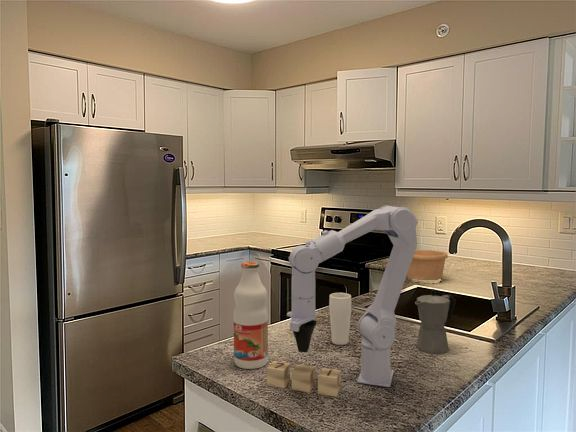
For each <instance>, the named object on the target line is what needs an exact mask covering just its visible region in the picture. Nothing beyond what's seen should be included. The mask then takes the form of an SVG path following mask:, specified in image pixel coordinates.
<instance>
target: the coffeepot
mask: <svg viewBox="0 0 576 432" xmlns="http://www.w3.org/2000/svg"><path fill="white" fill-rule="evenodd" d="M436 293H437V290H436V289H434V288H433V289H430V294H427V295H426V294H425V295H420V296H419V297H416V301H415V302H414V304H415V305H416V306H417V310H418V317H419V321H420V326H419V329H418V330H419V331H418V334H417V340H416V344H415V346H416V348H417V349H418V350H419V351H421V352H423V353H426V354H432V355H433V354H434V355H439V354H440V355H441V354H446V353H447V352H448V350H449V341H448V336H447V329H446V328H445V324H446V323H447V322H450V321H452V317H453V313H454V310H455V306H456V302H457V300H456V298H455V296H454V295H453V294H443V295H441V296H440V295H436Z"/></svg>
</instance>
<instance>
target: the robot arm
mask: <svg viewBox="0 0 576 432" xmlns="http://www.w3.org/2000/svg"><path fill="white" fill-rule="evenodd" d="M417 225H418V219H417V218H416V216H415V214H414V213H413V211H412V210H411V209H410V208H408V207H406V206H400V207H399V206H392V205H388V204H387V205H383V206H381V207H379V208H377V209H374V210H371V212H369V213H367V214H366V215H365V216H362V217H360V219H357V220H356V221H354V222H353V223H351V224H349V225H347V226H346V227H345V228H343V229H341V230H339V231H336V230H333V229H331V230H327V229H326V230H323V231H321V235H319V236H318V237H316V238H314V239H312V240H307V241H305V242H304V243H305V245H297V246H295V247H293V249H292V250H291V251H290V254H289V256H288V263H290V265H291V266H292V267H291V311H288V312H287V313H286V316H287V317H290V322H289V331H290V332H292V334H293V336H294V338H295V342H296V347H297V351H298V352H300V353H308V352H309V349H310V344H311V340H312V336H313V335H312V334H313V332H314V329H315V328H316V325H317V323H318V322H317V320H315V319H316V318H317V313H316V270H317V269H318V266H319V264H321V263H323V262H325V261H326V260H329V259H330V258H332V257H334V256H336V255H337V254H339V253H341V252H343V250H344V249H345V245H346V244H347V243H349V242H353V240H355V239H358V238H360V237H361V236H363V235H366V234H368V233H370V232H372V231H374V230H375V231H382V232H384V233H385V234H387V236H388V238H389V240H390V242H391V243H392V245H393V246H392V249H391V252H390V255H389V258H388V260H387V263H386V265H385V270H384V272H383V274H382V276H381V277H382V278H381V281H380V282H379V286H378V289H377V291H376V294H375V298H374V301H373V303H372V304H369V306H368V307H367V308H366V310H365V313H364V314H363V315H362V316H361V317H360V318H359V320H358V323H357V330H358V332H359V334H360V335H361V337H362V339H361V346H360V349H361V351H360V352H361V354H360V355H361V356H360V357H361V358H360V361H361V362H360V363H361V364H360V373H359V375H358V377H357V381H356V382H357V383H358V384H359V383H360V384H365V385H371V386H379V387H385V388H390V387H391V384H392V380H393V375H394V369H391V346H392V345H393V344H394V341H395V339H396V326H397V318H396V314H395V310H396V307H397V304H398V302H399V298H400V295H401V293H402V290H403V287H404V283H405V281H406V279H407V273H408V270H409V267H410V264H411V262H412V259H413V256H414V253H415V250H417V247H418V239H417Z"/></svg>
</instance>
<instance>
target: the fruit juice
mask: <svg viewBox="0 0 576 432" xmlns="http://www.w3.org/2000/svg"><path fill="white" fill-rule="evenodd" d="M240 269H241V271H242V273H241V276H240V280H239V282H238V284H237V286H236V288H235V289H234V292H233V300H234V304H235V307H234V309H233V361H234V364H235V366H237V368H241V369H245V370H254V369H255V370H256V369H259V368H262V367H264V366H266V365H267V363H268V360H269V326H268V325H269V321H268V320H269V314H268V309H267V305H266V303H267V300H268V299H267V298H268V292H267V289H266V287H265V285H263V283H262V281H261V277H260V274H259V269H260V263H259V262H257V261H244V262H241V264H240Z"/></svg>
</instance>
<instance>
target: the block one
mask: <svg viewBox="0 0 576 432" xmlns="http://www.w3.org/2000/svg"><path fill="white" fill-rule="evenodd" d="M341 375H342V370H339V369H331V368H326V367H323V368H322V369H320V371H319V373H318V375H317V394H318V395H323V396H330V397H338V395H339V392H340V391H341V389H342V376H341Z"/></svg>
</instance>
